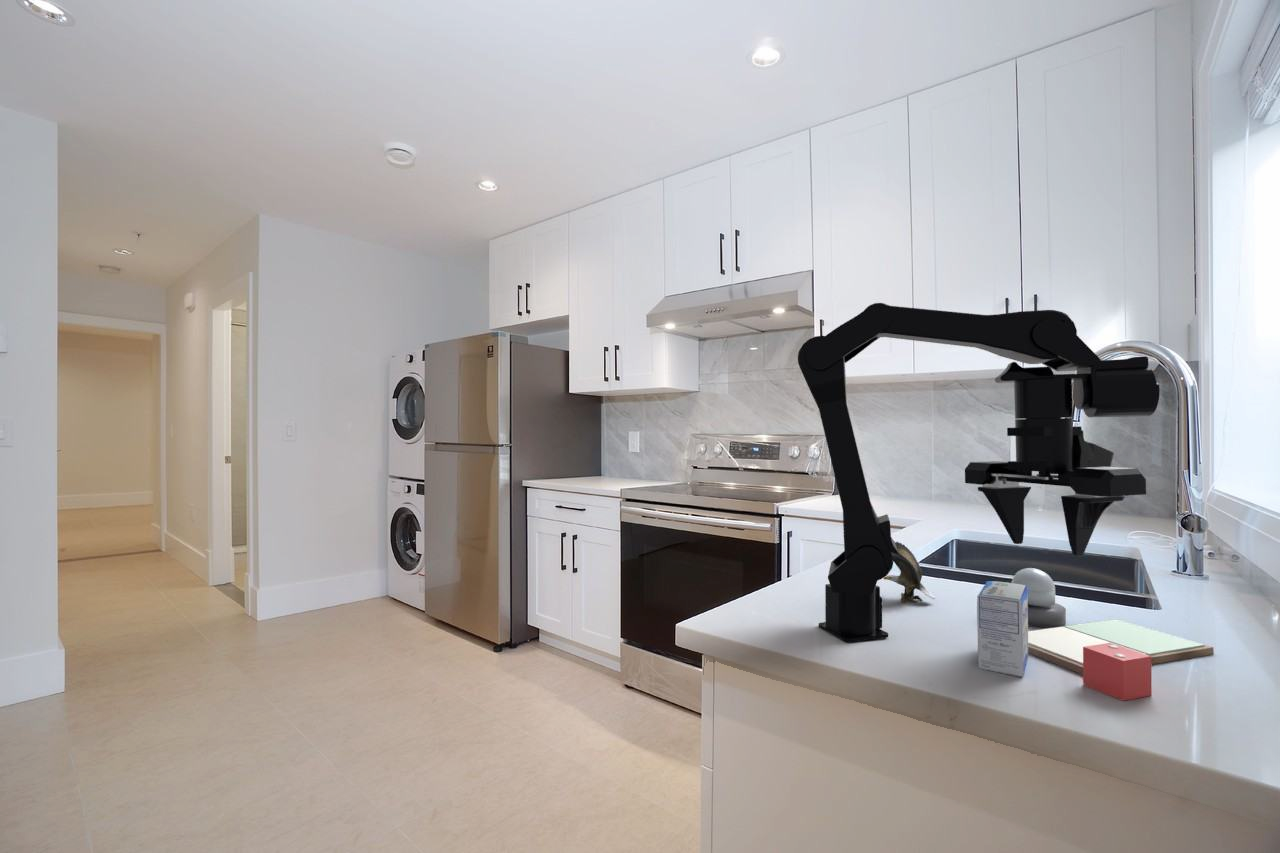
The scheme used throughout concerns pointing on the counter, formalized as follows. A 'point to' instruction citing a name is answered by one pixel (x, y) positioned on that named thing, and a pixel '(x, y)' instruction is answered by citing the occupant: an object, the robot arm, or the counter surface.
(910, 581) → the eagle figurine
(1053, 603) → the dome
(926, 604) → the counter surface
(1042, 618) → the dome base
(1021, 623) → the medicine box
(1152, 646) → the game board
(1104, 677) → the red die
